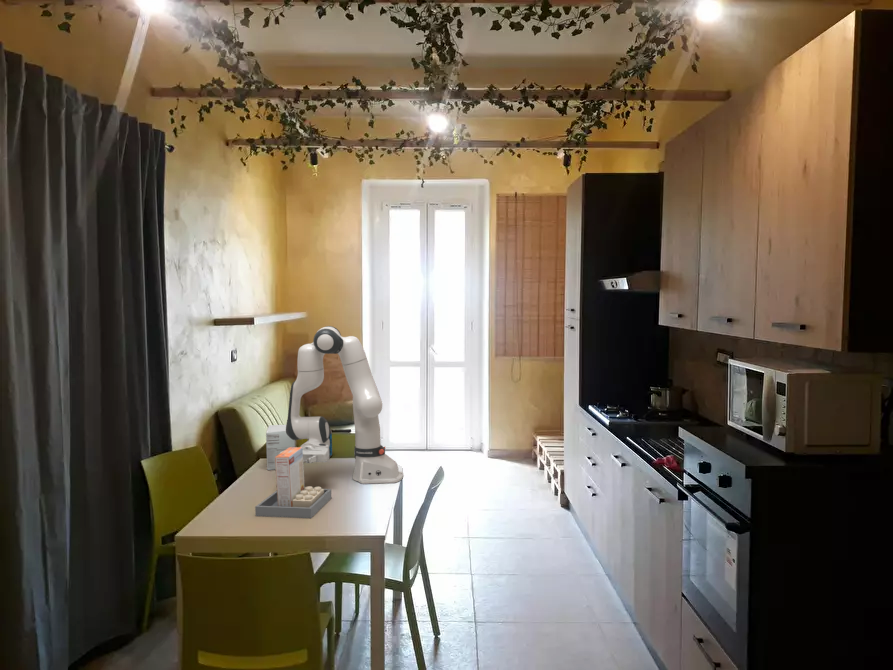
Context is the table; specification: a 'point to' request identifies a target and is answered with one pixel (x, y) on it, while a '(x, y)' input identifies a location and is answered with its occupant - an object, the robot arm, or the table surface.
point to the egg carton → (308, 496)
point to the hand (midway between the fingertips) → (297, 460)
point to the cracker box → (289, 475)
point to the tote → (273, 510)
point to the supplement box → (276, 443)
